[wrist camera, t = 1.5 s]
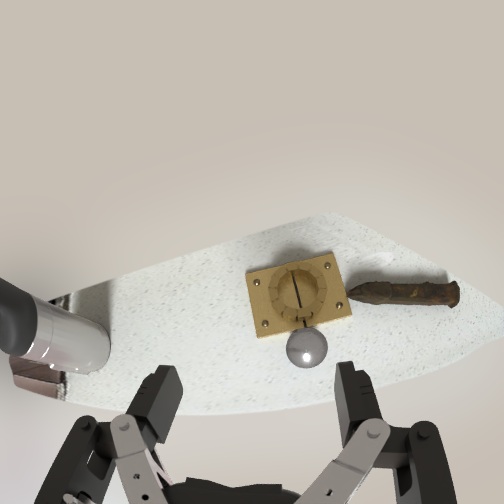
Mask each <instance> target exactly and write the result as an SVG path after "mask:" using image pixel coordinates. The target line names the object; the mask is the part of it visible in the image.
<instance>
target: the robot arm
mask: <svg viewBox="0 0 504 504" xmlns="http://www.w3.org/2000/svg"><path fill="white" fill-rule="evenodd" d="M0 349H1V350H2V351H3V352H5V353H7V354H10V355H13V356H17V357H21V358H25V359H29V360H34V361H38V362H42V363H47V364H48V365H49V367H50V368H51V369H54V370H60V371H66V372H72V373H79V374H87V375H88V374H89V372H91V371H97V370H99V369H101V368H102V367H103V366H104V365H105V363H106V362H107V360H108V357H109V353H110V341H109V337H108V334H107V332H106V330H105V329H104V328H103V327H102V326H101V325H100V324H98V323H95V322H93V321H91V320H88V319H85V318H83V317H81V316H78V315H76V314H73V313H71V312H68V311H66V310H64V309H61V308H59V307H57V306H55V305H52V304H50V303H48V302H46V301H43V300H41V299H39V298H37V297H35V296H33V295H31V294H29V293H27V292H25V291H23V290H21V289H19V288H17V287H16V286H14V285H12V284H11V283H9V282H7V281H5V280H3V279H2V278H0ZM334 392H335V399H336V405H337V412H338V418H339V424H340V431H341V438H342V446H343V448H344V449H343V450H342V452H341V453H340V454H339V456H338V457H337V458H336V459H335V460H333V461H331V462H330V463H329V464H328V466H327V467H326V468H325V469H324V471H323V472H322V473H321V474H320V475H319V477H318V478H317V479H316V480H315V481H314V482H313V484H312V485H311V486H310V487H309V488H308V489H307V490H306V491H305V492H304V493H303V494H302V495H299V494H298V493H295V492H292V491H289V490H285V489H282V484H255V485H249V486H242V487H235V488H231V487H227V486H224V485H221V484H218V483H215V482H212V481H209V480H202V479H195V478H189V477H187V478H186V482H182V483H176V484H173V482H172V481H171V479H170V478H169V476H168V474H167V472H166V470H165V468H164V466H163V464H162V462H161V460H160V457H159V455H158V453H157V451H156V449H155V444H156V442H157V443H162V444H164V443H165V440H166V438H167V435H168V432H169V430H170V427H171V425H172V422H173V419H174V417H175V414H176V411H177V409H178V406H179V404H180V401H181V398H182V395H183V387H182V384H181V381H180V379H179V376H178V373H177V371H176V368H175V367H174V366H170V365H159V366H158V368H157V370H156V371H155V373H154V374H152V373H151V374H150V375H148V376H147V377H146V378H145V379H144V380H143V382H142V384H141V386H140V388H139V389H138V391H137V394H136V395H135V397H134V399H133V400H132V402H131V404H130V406H129V408H128V410H127V412H126V413H125V414H123V415H119V416H117V417H115V418H114V419H113V420H112V422H97V421H96V420H95V418H94V417H92V416H89V415H87V416H82V417H80V418H79V419H77V420H76V422H75V424H74V425H73V427H72V429H71V431H70V432H69V435H68V436H67V438H66V440H65V442H64V444H63V445H62V447H61V449H60V451H59V453H58V455H57V457H56V458H55V460H54V463H53V464H52V466H51V468H50V470H49V472H48V474H47V476H46V478H45V480H44V482H43V485H42V487H41V489H40V491H39V493H38V495H37V498H36V499H35V502H34V504H102V502H103V499H104V496H105V493H106V491H107V488H108V486H109V483H110V480H111V477H112V474H113V472H114V470H115V467H116V466H117V469H118V472H119V475H120V479H121V482H122V485H123V488H124V490H125V493H126V496H127V498H128V501H129V504H348V502H349V501H350V500H351V498H352V497H353V495H354V494H355V493H356V491H357V490H358V488H359V487H360V486H361V484H362V483H363V481H364V480H365V478H366V477H367V475H368V474H369V472H370V471H371V469H372V468H373V467H375V468H391V469H393V476H394V484H395V491H396V501H397V504H457V500H456V495H455V491H454V486H453V481H452V478H451V473H450V469H449V465H448V462H447V458H446V454H445V451H444V447H443V444H442V441H441V438H440V434H439V431H438V428H437V427H436V425H434V424H433V423H432V422H429V421H419V422H417V423H415V424H414V425H413V426H412V427H411V428H402V427H393V426H391V425H389V424H387V423H386V422H385V421H384V420H383V418H382V416H381V412H380V409H379V405H378V402H377V399H376V395H375V393H374V389H373V386H372V382H371V379H370V376H369V375H368V374H367V373H366V372H365V371H364V370H359V371H355V368H354V365H353V362H352V361H347V362H339V363H337V364H336V373H335V383H334ZM92 451H93V453H92ZM91 453H92V455H91ZM90 455H91V457H90ZM89 457H90V460H89V462H88V459H89ZM87 462H88V464H87Z"/></svg>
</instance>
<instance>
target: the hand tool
mask: <svg viewBox="0 0 504 504" xmlns="http://www.w3.org/2000/svg"><path fill="white" fill-rule="evenodd" d="M346 295H347V297H348V298H350V299H352V300H356V301H360V302H363V303H370V304H374V305H380V304H401V305H428V306H431V305H448V306H449V307H450V308H453V307H455V306H456V305H457V304H458V303H459V300H460V288H459V286H458V285H457V282H456V281H452V282H451V283H449V284H433V283H429V282H425V283H423V284H390V282H377V281H375V282H367V283H364V284H362V285H358V286H357V287H355V288H353V289H351V290H350V291H349V292H348V293H347V294H346Z"/></svg>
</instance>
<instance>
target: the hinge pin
mask: <svg viewBox="0 0 504 504" xmlns="http://www.w3.org/2000/svg"><path fill="white" fill-rule="evenodd" d="M327 350H328V345H327V341H326V338H325V337H324V335H323V334H322V333H321V332H319V331H318V330H316V329H313V328H302V329H299V330H297V331H295V332H294V333H293V334H292V335H291V336H290V337H289V339H288V341H287V345H286V352H287V356H288V358H289V360H290V361H291V362H292V363H293V364H294V365H296V366H297V367H300V368H312V367H315V366H317V365H318V364H320V363H321V362H322V361H323V360H324V358H325V356H326V354H327Z"/></svg>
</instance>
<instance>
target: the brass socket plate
mask: <svg viewBox="0 0 504 504" xmlns="http://www.w3.org/2000/svg"><path fill="white" fill-rule="evenodd" d="M245 276H246V282H247V287H248V292H249V298H250V303H251V308H252V313H253V318H254V324H255V329H256V334H257V338H258V339H259V338H264V337H269V336H273V335H278V334H282V333H287V332H291V331H295V330H299V329H302V328H304V324H303V320H305V322H306V326H307V327H311V326H315V325H319V324H323V323H327V322H331V321H334V320H338V319H342V318H345V317H349V316H351V315H352V312H351V308H350V305H349V301H348V298H347V295H346V291H345V288H344V285H343V281H342V278H341V275H340V272H339V269H338V266H337V263H336V260H335V257H334V254H333V253H332V254H327V255H323V256H319V257H315V258H311V259H307V260H303V261H294V262H290V263H286V264H285V265H281V266H277V267H273V268H269V269H264V270H260V271H255V272H251V273H247V274H245ZM292 277H294V278H295V282H296V286H297V290H298V294H299V298H300V302H301V306H302V308H300V307H299V303H298V299H297V295H296V291H295V287H294V283H293V279H292Z"/></svg>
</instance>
